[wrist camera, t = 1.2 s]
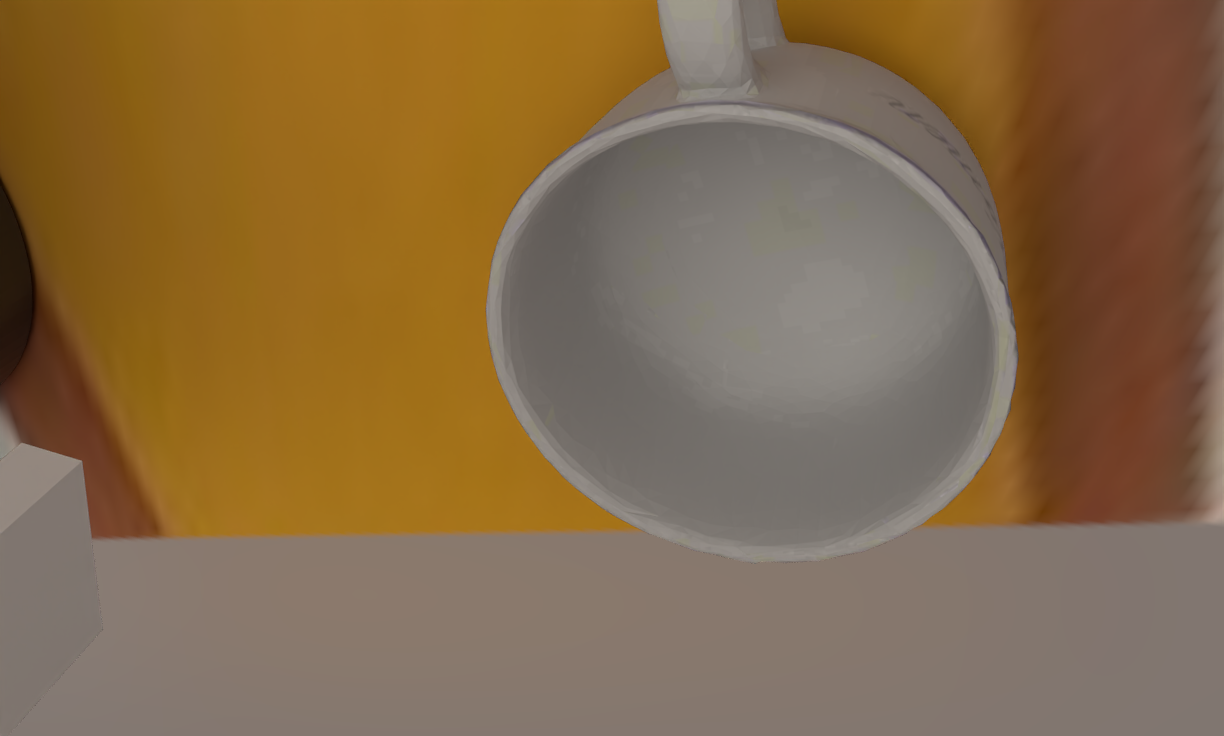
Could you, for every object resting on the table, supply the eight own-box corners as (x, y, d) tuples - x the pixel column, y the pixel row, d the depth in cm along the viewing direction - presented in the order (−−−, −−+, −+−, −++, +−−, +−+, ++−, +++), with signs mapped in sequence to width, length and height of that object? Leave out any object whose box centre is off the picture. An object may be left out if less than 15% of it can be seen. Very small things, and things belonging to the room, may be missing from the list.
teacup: (949, 418, 30) (957, 616, 24) (573, 361, 32) (483, 528, 26) (1074, -127, 23) (1137, -65, 16) (581, -157, 25) (458, -111, 18)
